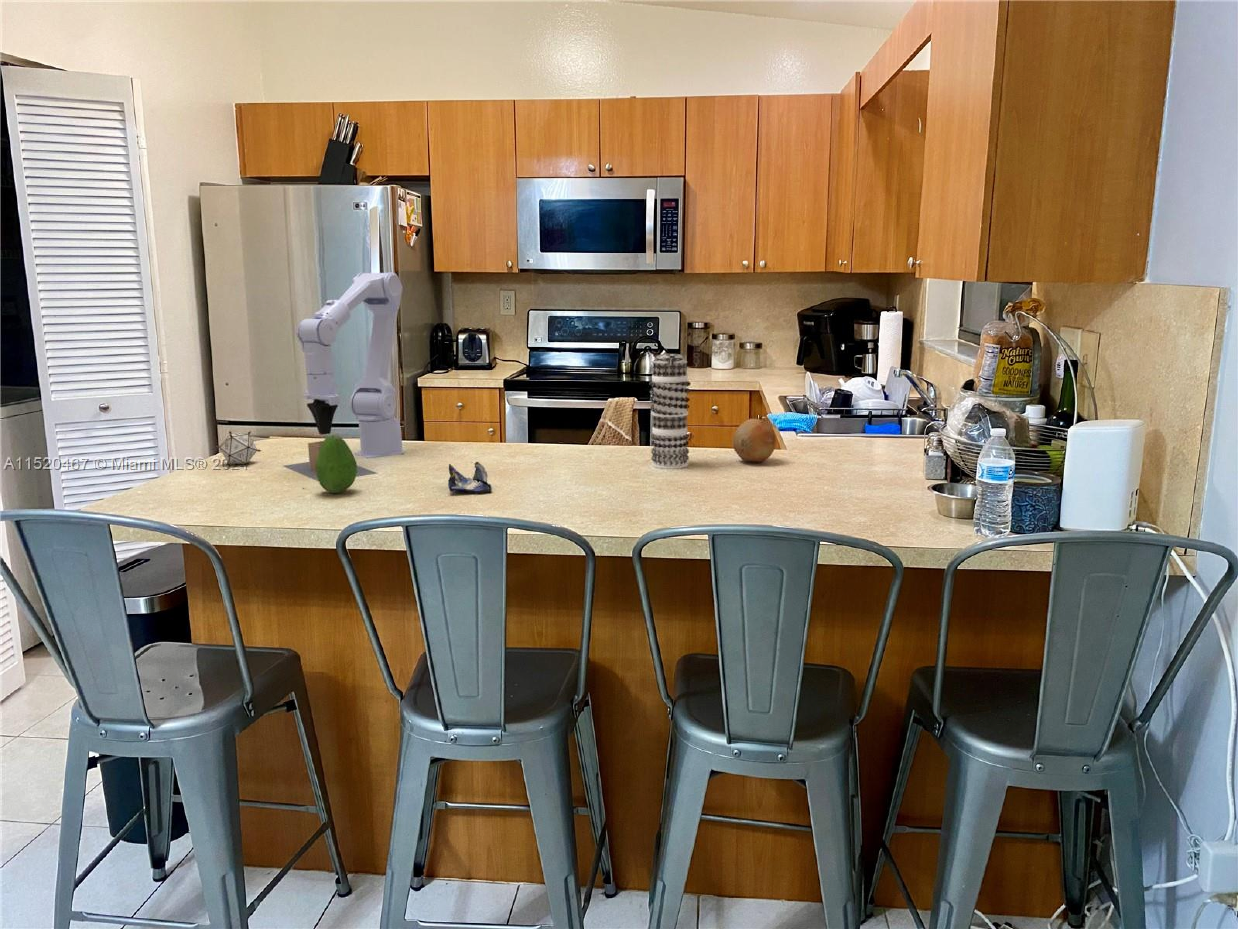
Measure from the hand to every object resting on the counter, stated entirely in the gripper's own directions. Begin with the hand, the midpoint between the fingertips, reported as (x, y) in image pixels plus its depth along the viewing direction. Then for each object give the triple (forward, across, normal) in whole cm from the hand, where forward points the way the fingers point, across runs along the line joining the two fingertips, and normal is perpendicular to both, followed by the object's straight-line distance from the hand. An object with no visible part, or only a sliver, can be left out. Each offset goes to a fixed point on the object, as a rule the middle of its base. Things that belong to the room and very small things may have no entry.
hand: (324, 433), depth 204 cm
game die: (+9, -20, -13) cm, 25 cm away
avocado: (+9, +22, -7) cm, 25 cm away
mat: (+8, +1, 0) cm, 8 cm away
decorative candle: (+9, +49, +60) cm, 78 cm away
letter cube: (+5, -3, 0) cm, 6 cm away
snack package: (+9, +38, +15) cm, 41 cm away
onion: (+9, +60, +76) cm, 97 cm away
